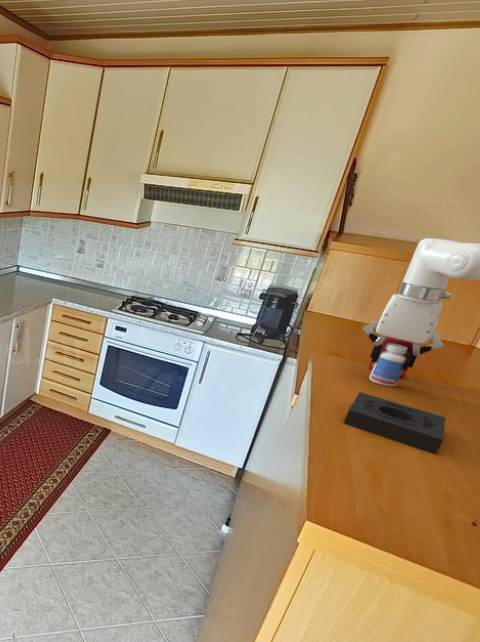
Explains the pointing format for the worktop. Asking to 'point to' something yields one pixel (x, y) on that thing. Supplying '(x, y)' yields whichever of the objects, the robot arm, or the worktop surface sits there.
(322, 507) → the worktop surface
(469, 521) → the worktop surface
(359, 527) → the worktop surface
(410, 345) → the canned food
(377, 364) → the pill bottle
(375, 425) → the socket pad
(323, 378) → the worktop surface
